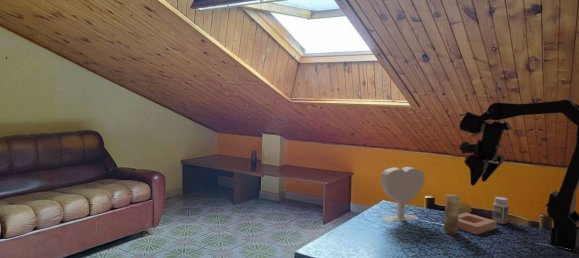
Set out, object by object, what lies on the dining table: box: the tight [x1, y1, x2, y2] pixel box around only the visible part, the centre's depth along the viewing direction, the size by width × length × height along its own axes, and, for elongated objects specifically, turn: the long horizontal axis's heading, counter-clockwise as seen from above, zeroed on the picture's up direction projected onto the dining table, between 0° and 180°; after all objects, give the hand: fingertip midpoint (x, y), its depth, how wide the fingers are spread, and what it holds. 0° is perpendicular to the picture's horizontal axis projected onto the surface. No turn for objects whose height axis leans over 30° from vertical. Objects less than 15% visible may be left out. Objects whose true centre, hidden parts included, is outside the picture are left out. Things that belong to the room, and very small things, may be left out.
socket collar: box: [458, 213, 497, 235], centre depth 140 cm, size 11×11×2 cm
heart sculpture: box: [380, 166, 426, 223], centre depth 146 cm, size 16×5×18 cm, turn 109°
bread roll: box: [444, 200, 472, 214], centre depth 157 cm, size 8×9×4 cm
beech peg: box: [443, 193, 461, 235], centre depth 133 cm, size 4×4×12 cm
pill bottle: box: [491, 196, 509, 224], centre depth 146 cm, size 5×5×8 cm
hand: (478, 183), depth 142 cm, fingers open, 9 cm apart
